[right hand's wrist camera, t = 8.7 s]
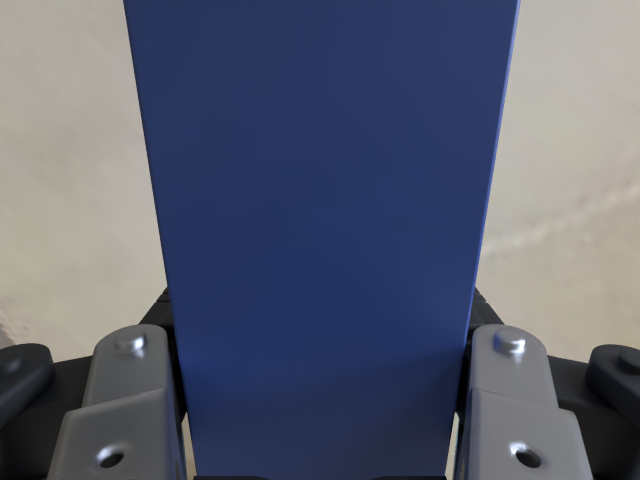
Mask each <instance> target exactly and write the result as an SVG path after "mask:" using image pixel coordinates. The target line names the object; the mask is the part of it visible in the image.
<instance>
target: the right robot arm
mask: <svg viewBox="0 0 640 480" xmlns="http://www.w3.org/2000/svg"><path fill="white" fill-rule="evenodd" d="M186 412H187V408H186V402H185V396H184V389H183V383H182V376H181V370H180V363H179V357H178V350H177V344H176V338H175V331H174V325H173V318H172V312H171V305H170V299H169V292H168V286H167V287H166V289H165V290H164V291H163V294H161V295H160V297H159V298H158V299H157V302H156V303H154V304H153V306H152V307H151V308H150V310H149V311H148V312H147V314H146V315H145V316H144V317H143V319H142V320H141V321H140V323H139V324H138V325H132V326H128V327H124V328H121V329H119V330H116V331H114V332H112V333H110V334H108V335H107V336H105V337H104V338H103V339H101V340H100V341H99V342H98V344H97V345H96V346H95V349H94V352H93V355H92V356H87V357H83V358H77V359H72V360H67V361H62V362H57V363H53V360H52V357H51V353H50V350H49V348H47V347H46V346H44V345H41V344H35V343H27V344H19V345H14V346H10V347H7V348H3V349H0V480H187V469H186V459H185V448H184V437H183V429H182V421H183V419H184V416H185V414H186ZM455 412H457V415H458V417H459V423H458V429H457V437H456V448H455V459H454V470H453V480H640V350H638V349H635V348H631V347H627V346H622V345H611V344H608V345H601V346H598V347H595V348H594V349H593V351H592V353H591V356H590V360H589V363H583V362H578V361H573V360H567V359H562V358H557V357H553V356H549V355H547V352H546V349H545V346H544V345H543V343H542V342H541V341H540V340H539V339H537V338H536V337H535V336H533V335H532V334H530V333H528V332H526V331H524V330H521V329H519V328H516V327H512V326H508V325H505V324H504V323H503V322H502V321H501V319H500V318H499V317H498V315H497V314H496V313H495V312H494V310H493V309H492V308H491V306H490V305H489V304H488V303H486V300H485V299H484V297H483V296H482V295H480V292H479V291H478V290H477V288H476V287H475V289H474V295H473V301H472V307H471V314H470V320H469V326H468V332H467V339H466V345H465V351H464V358H463V364H462V370H461V376H460V383H459V389H458V395H457V401H456V408H455ZM193 480H270V479H266V478H262V477H258V476H194V479H193ZM370 480H447V479H446V476H382V477H378V478H374V479H370Z"/></svg>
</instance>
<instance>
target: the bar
mask: <svg viewBox="0 0 640 480" xmlns="http://www.w3.org/2000/svg"><path fill="white" fill-rule="evenodd" d="M520 1H521V0H123V2H124V9H125V15H126V22H127V28H128V35H129V41H130V48H131V54H132V60H133V67H134V73H135V80H136V86H137V93H138V99H139V106H140V112H141V118H142V125H143V131H144V138H145V144H146V151H147V157H148V164H149V170H150V176H151V183H152V189H153V196H154V202H155V209H156V215H157V222H158V228H159V234H160V241H161V247H162V254H163V260H164V267H165V273H166V280H167V286H168V292H169V299H170V305H171V312H172V318H173V325H174V331H175V338H176V344H177V350H178V357H179V363H180V370H181V376H182V383H183V389H184V396H185V402H186V408H187V415H188V421H189V428H190V434H191V441H192V447H193V454H194V460H195V466H196V473H197V476H258V477H262V478H266V479H270V480H370V479H374V478H378V477H382V476H445V470H446V464H447V458H448V451H449V445H450V439H451V433H452V426H453V420H454V414H455V408H456V401H457V395H458V389H459V383H460V376H461V370H462V364H463V358H464V351H465V345H466V339H467V332H468V326H469V320H470V314H471V307H472V301H473V295H474V289H475V282H476V276H477V270H478V264H479V257H480V251H481V245H482V239H483V232H484V226H485V220H486V214H487V207H488V201H489V195H490V189H491V182H492V176H493V170H494V164H495V157H496V151H497V145H498V139H499V132H500V126H501V120H502V114H503V107H504V101H505V95H506V88H507V82H508V76H509V70H510V63H511V57H512V51H513V45H514V38H515V32H516V26H517V20H518V13H519V7H520Z"/></svg>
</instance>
